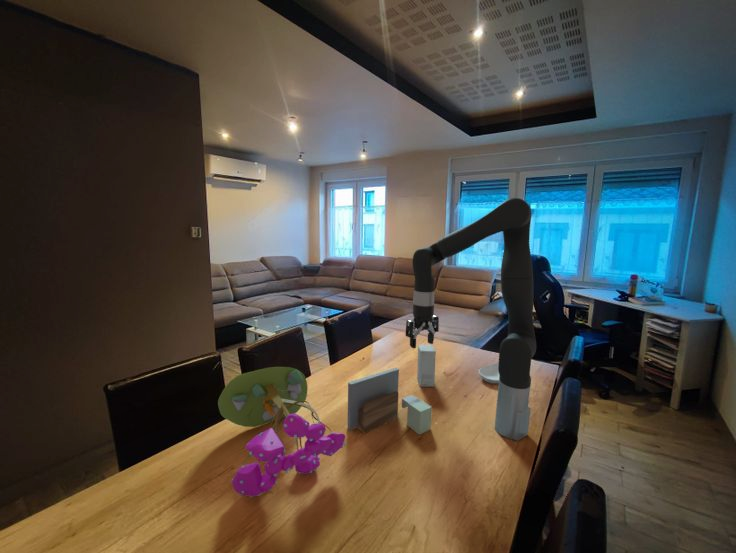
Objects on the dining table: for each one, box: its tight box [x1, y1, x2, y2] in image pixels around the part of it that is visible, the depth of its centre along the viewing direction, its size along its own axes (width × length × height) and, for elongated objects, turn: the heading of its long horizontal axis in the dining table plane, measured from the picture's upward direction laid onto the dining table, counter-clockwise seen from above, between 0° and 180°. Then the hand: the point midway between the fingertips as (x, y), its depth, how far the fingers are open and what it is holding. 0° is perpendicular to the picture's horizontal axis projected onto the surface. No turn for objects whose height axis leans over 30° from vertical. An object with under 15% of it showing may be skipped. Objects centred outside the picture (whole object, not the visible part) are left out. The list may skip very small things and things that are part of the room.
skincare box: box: [416, 344, 437, 388], centre depth 136 cm, size 8×7×16 cm
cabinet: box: [401, 394, 433, 435], centre depth 107 cm, size 9×5×8 cm, turn 35°
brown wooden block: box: [357, 391, 399, 434], centre depth 107 cm, size 4×14×10 cm, turn 125°
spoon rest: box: [478, 361, 499, 385], centre depth 143 cm, size 24×12×7 cm, turn 124°
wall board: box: [347, 367, 400, 431], centre depth 109 cm, size 2×20×16 cm, turn 125°
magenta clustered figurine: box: [217, 366, 347, 499], centre depth 89 cm, size 30×28×35 cm
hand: (421, 345), depth 118 cm, fingers open, 8 cm apart
